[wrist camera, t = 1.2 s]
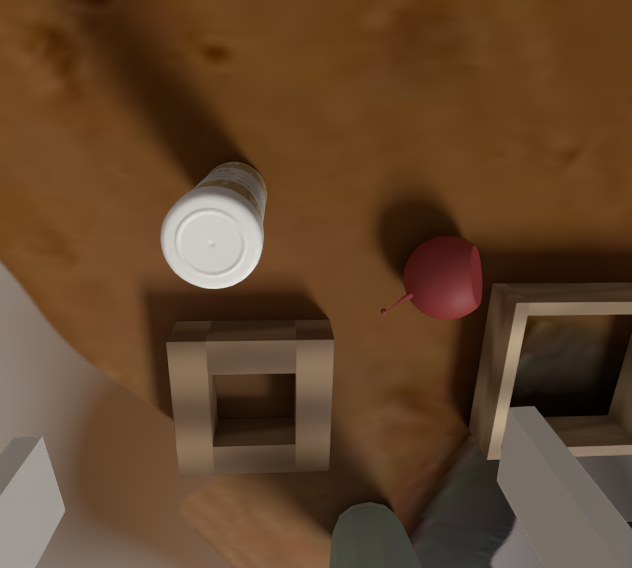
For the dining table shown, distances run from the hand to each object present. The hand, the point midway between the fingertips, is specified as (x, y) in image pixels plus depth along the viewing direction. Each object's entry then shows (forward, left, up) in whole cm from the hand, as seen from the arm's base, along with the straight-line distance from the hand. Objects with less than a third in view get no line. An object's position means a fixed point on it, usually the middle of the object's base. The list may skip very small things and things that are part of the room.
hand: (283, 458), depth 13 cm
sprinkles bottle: (-4, -3, -23) cm, 24 cm away
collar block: (+12, -2, -23) cm, 26 cm away
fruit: (+2, +11, -23) cm, 26 cm away
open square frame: (+10, +24, -23) cm, 35 cm away
